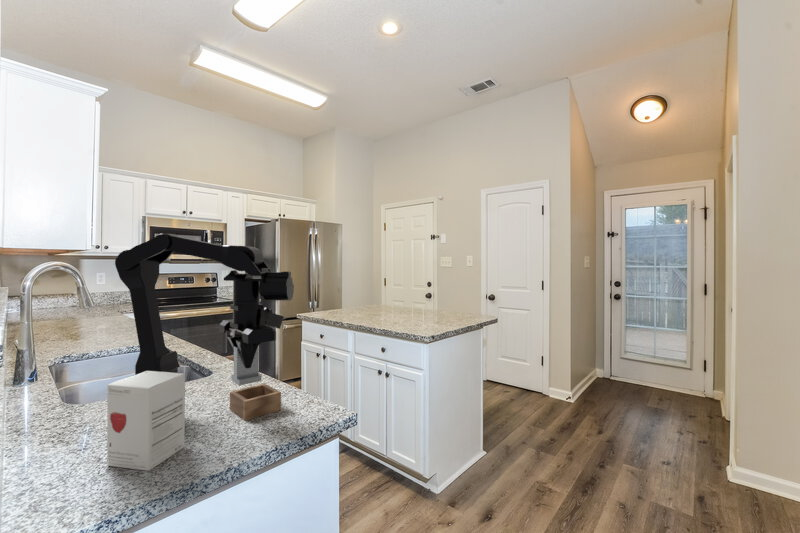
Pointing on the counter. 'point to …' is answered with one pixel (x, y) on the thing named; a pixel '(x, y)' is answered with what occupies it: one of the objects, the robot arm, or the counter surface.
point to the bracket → (245, 369)
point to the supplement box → (145, 419)
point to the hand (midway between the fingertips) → (246, 367)
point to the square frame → (255, 401)
